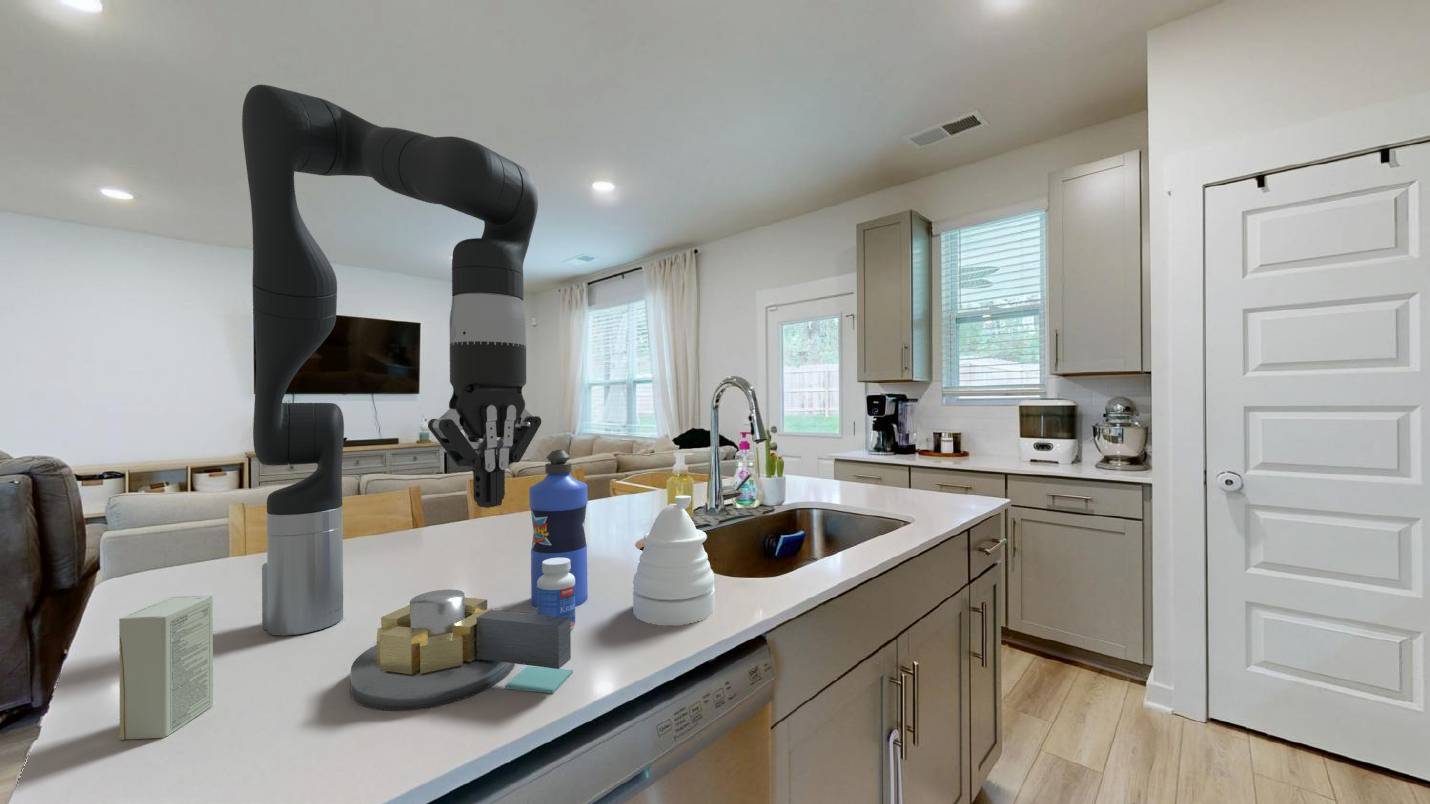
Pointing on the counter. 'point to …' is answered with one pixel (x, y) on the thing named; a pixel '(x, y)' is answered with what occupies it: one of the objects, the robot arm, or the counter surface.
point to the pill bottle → (556, 590)
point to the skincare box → (165, 666)
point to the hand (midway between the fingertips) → (489, 505)
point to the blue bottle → (559, 523)
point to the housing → (430, 687)
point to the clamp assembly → (474, 640)
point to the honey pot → (674, 571)
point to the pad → (539, 679)
